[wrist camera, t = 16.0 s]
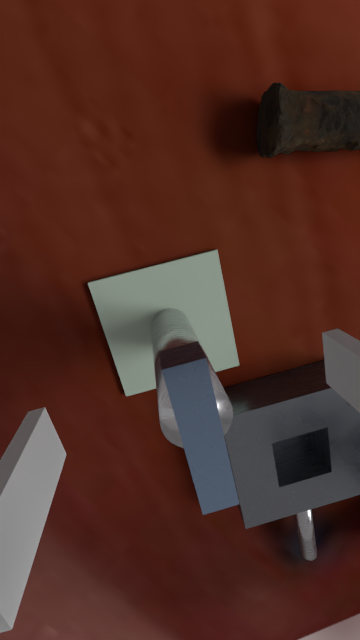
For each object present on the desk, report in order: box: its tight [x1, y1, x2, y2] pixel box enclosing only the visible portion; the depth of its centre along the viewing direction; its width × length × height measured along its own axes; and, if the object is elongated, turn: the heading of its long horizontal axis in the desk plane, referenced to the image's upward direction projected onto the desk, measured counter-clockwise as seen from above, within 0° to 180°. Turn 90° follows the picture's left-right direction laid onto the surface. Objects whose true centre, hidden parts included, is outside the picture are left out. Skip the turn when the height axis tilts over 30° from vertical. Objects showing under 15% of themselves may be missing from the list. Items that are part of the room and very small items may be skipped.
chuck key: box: [150, 308, 239, 515], centre depth 18 cm, size 7×3×14 cm, turn 13°
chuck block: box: [223, 360, 360, 560], centre depth 29 cm, size 20×12×4 cm, turn 13°
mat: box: [88, 250, 239, 396], centre depth 25 cm, size 10×10×1 cm
